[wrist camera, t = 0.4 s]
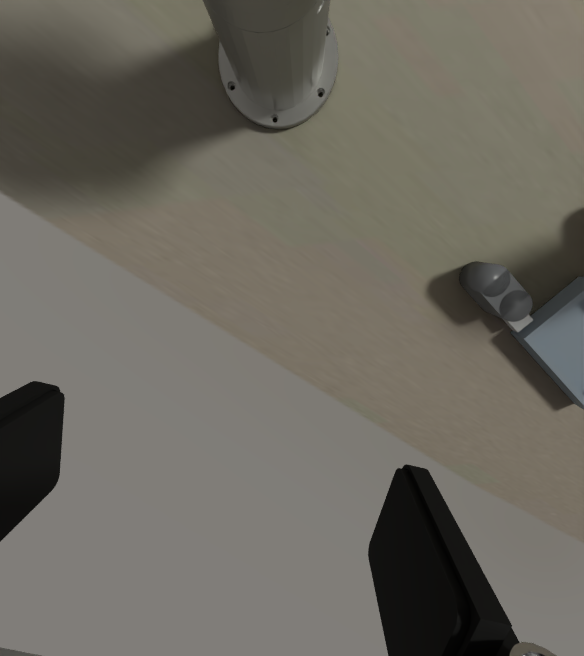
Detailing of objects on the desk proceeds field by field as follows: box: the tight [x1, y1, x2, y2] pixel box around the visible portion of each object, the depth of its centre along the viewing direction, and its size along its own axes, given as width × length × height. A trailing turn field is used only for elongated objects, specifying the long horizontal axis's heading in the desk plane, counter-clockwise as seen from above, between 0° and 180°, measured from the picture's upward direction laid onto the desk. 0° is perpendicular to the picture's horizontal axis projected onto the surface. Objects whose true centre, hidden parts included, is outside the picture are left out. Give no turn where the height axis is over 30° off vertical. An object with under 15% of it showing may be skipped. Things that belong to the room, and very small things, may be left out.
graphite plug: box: [459, 262, 533, 332], centre depth 40 cm, size 10×4×4 cm, turn 46°
